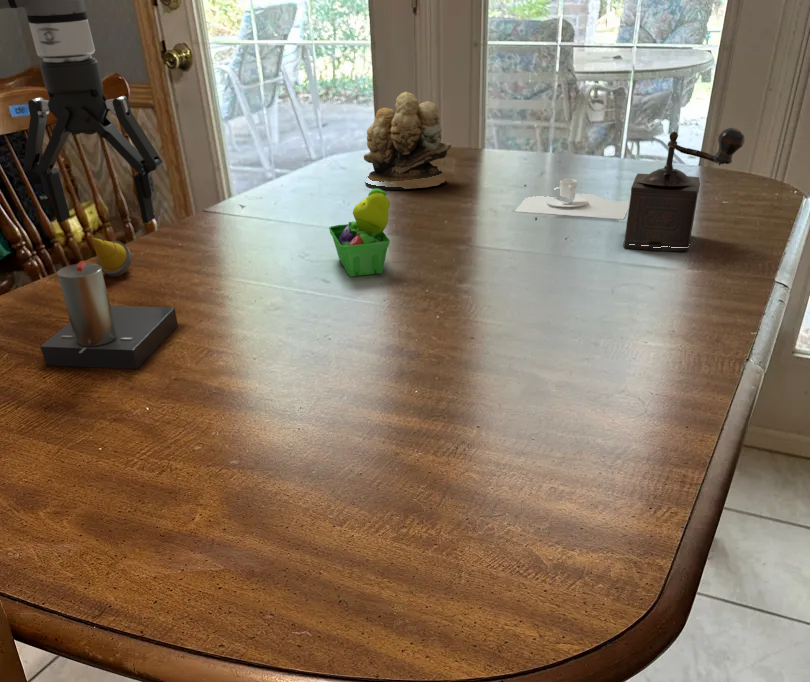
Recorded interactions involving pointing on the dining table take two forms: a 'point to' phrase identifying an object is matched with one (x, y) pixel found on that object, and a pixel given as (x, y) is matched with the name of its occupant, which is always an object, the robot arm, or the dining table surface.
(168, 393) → the dining table surface
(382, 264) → the fruit basket
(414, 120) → the owl figurine
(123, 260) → the yellow ridged cone
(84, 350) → the dial base
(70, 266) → the shiny metal cylinder
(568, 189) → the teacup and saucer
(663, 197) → the manual coffee grinder
